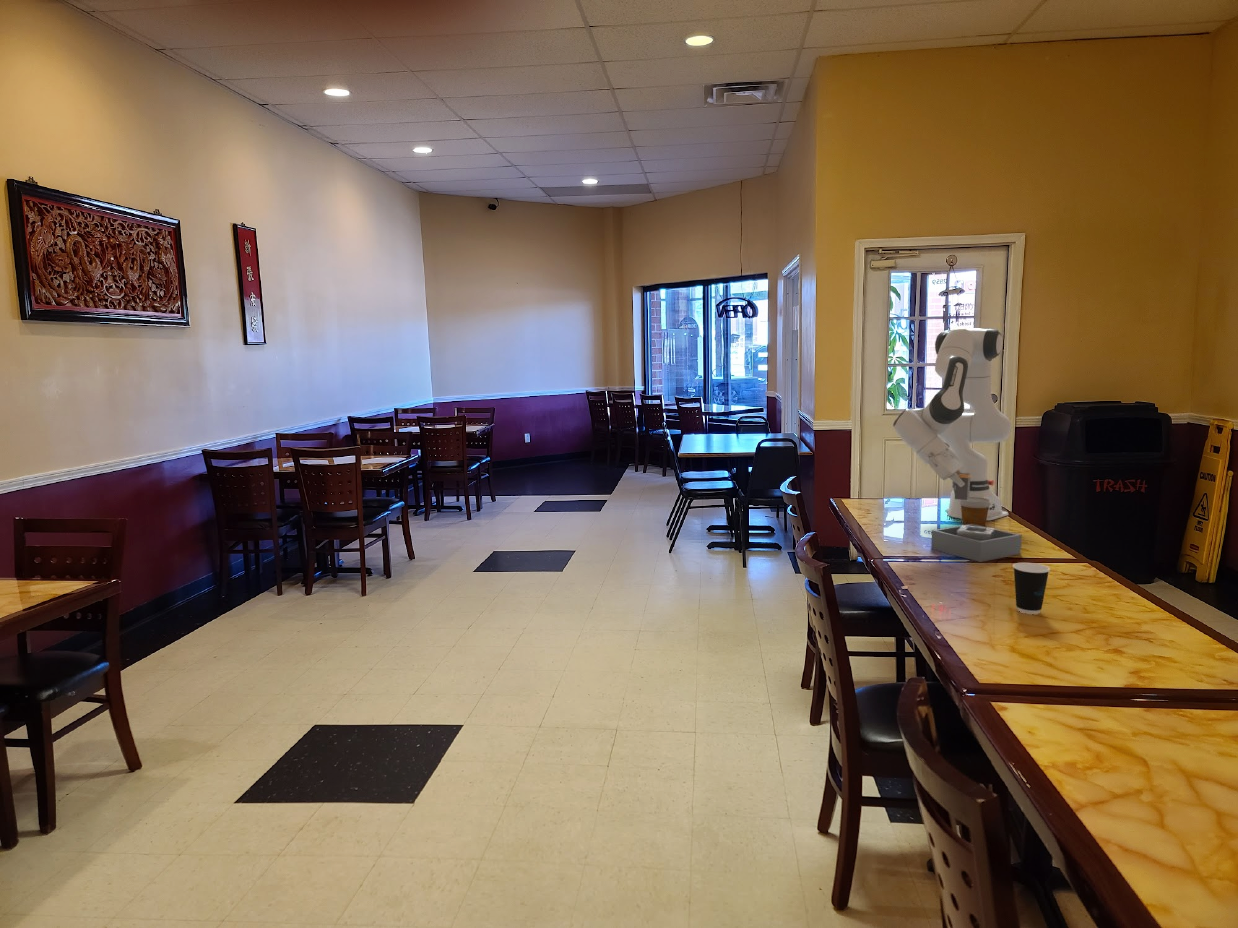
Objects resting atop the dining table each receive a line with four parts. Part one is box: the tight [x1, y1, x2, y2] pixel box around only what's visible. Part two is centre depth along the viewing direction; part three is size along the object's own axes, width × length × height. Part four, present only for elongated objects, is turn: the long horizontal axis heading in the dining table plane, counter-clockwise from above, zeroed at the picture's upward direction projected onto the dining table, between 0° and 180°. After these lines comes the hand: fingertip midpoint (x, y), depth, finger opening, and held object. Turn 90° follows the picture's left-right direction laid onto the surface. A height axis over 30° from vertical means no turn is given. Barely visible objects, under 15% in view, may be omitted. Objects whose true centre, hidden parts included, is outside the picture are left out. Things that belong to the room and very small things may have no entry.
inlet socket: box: [957, 524, 996, 541], centre depth 239 cm, size 9×9×6 cm
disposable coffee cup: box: [960, 497, 990, 527], centre depth 261 cm, size 10×10×12 cm
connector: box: [955, 473, 971, 500], centre depth 243 cm, size 4×4×8 cm
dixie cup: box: [1012, 562, 1051, 615], centre depth 184 cm, size 8×8×11 cm
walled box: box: [930, 524, 1023, 563], centre depth 239 cm, size 18×18×6 cm
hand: (965, 484), depth 243 cm, fingers closed on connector, 4 cm apart
